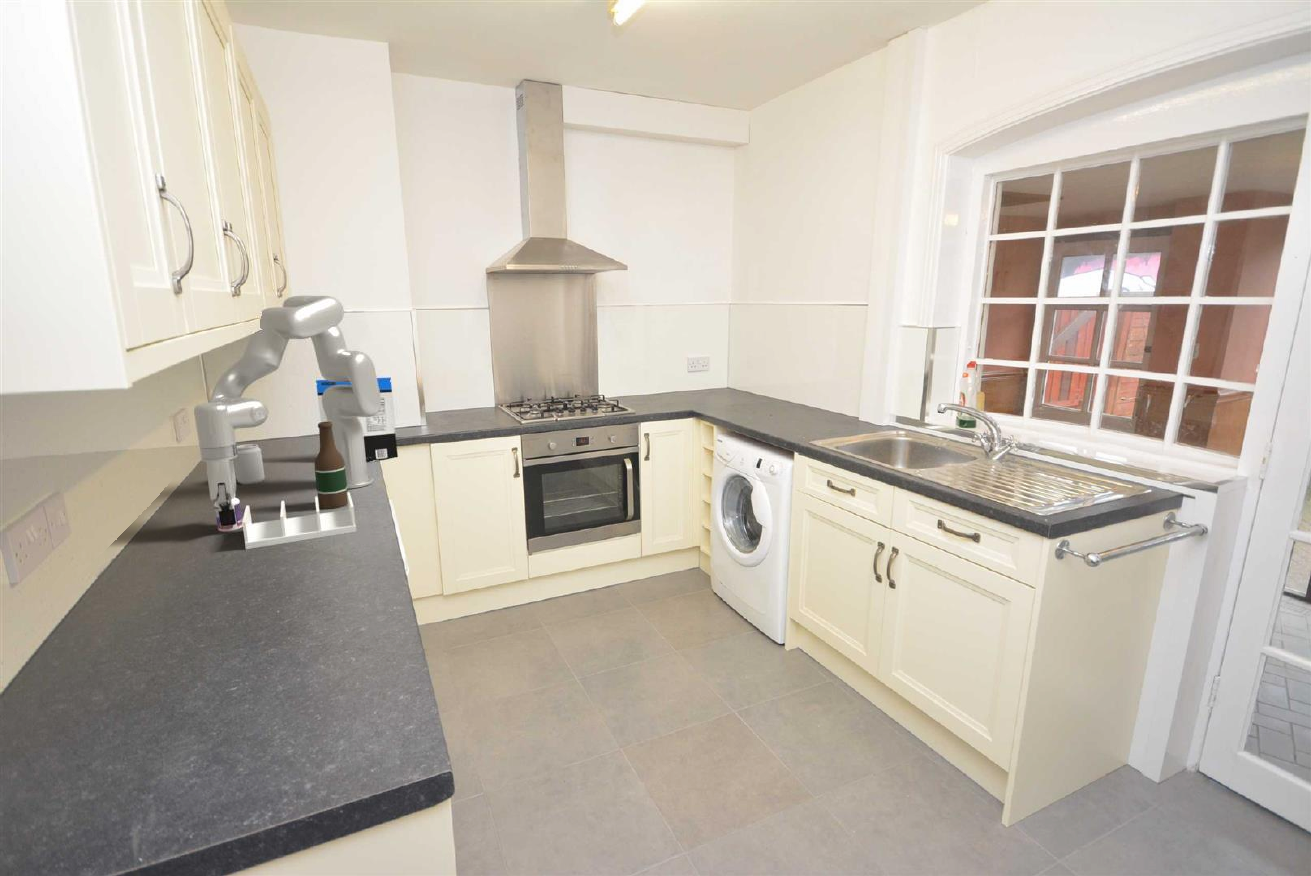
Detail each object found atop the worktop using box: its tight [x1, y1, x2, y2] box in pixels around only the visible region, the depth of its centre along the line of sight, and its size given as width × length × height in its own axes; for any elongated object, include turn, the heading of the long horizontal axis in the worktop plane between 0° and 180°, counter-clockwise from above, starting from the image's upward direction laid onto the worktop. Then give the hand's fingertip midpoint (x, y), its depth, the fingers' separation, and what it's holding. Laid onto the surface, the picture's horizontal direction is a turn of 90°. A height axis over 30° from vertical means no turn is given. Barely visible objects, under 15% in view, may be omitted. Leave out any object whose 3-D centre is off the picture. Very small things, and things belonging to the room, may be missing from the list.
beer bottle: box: [314, 421, 349, 510], centre depth 174 cm, size 8×8×24 cm
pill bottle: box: [213, 493, 243, 533], centre depth 157 cm, size 5×5×10 cm
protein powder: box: [315, 377, 399, 463], centre depth 225 cm, size 10×24×30 cm, turn 111°
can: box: [233, 443, 265, 485], centre depth 199 cm, size 8×8×12 cm
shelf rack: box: [242, 491, 357, 550], centre depth 156 cm, size 15×23×6 cm, turn 120°
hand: (229, 520), depth 158 cm, fingers closed on pill bottle, 5 cm apart
